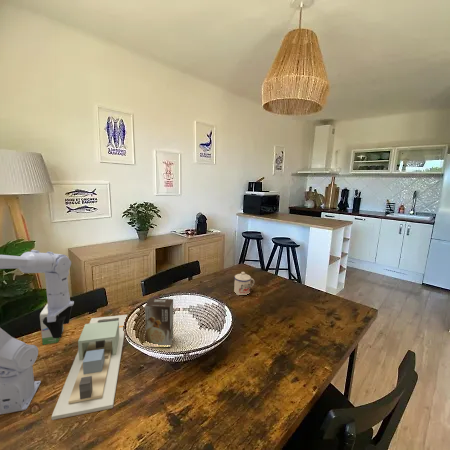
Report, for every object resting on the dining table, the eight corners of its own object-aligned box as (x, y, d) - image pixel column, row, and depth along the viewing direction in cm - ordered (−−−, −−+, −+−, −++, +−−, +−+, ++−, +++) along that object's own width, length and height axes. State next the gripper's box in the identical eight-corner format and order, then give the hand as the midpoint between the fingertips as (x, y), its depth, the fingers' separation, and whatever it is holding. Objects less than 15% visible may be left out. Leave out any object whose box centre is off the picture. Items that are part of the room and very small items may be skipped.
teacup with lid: (238, 297, 133) (240, 276, 131) (230, 290, 141) (231, 270, 139) (258, 293, 138) (259, 273, 136) (249, 287, 146) (250, 267, 144)
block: (101, 371, 77) (101, 359, 76) (83, 374, 75) (82, 362, 75) (104, 360, 81) (104, 348, 81) (87, 362, 80) (86, 351, 79)
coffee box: (174, 337, 97) (174, 298, 95) (170, 348, 91) (170, 307, 88) (150, 336, 97) (149, 297, 95) (144, 347, 91) (144, 306, 88)
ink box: (58, 342, 92) (55, 312, 90) (41, 345, 90) (39, 314, 88) (64, 329, 100) (62, 301, 98) (49, 331, 98) (46, 303, 96)
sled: (102, 397, 69) (101, 381, 68) (68, 403, 66) (67, 386, 65) (113, 343, 91) (113, 330, 90) (88, 346, 88) (87, 333, 88)
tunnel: (116, 357, 85) (115, 336, 84) (79, 363, 82) (77, 341, 81) (119, 339, 95) (118, 320, 93) (86, 343, 92) (85, 324, 90)
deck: (112, 407, 67) (112, 404, 67) (51, 420, 63) (51, 416, 63) (127, 316, 110) (127, 314, 110) (91, 320, 106) (91, 318, 106)
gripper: (65, 300, 74) (68, 342, 76) (78, 280, 87) (81, 316, 90) (36, 303, 72) (41, 345, 74) (54, 282, 85) (58, 319, 88)
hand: (61, 330), depth 82 cm, fingers open, 7 cm apart
